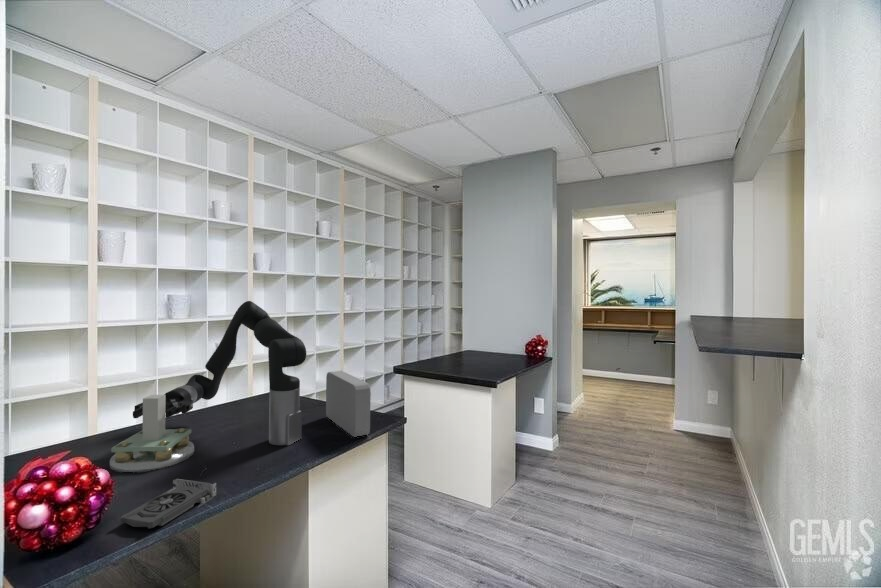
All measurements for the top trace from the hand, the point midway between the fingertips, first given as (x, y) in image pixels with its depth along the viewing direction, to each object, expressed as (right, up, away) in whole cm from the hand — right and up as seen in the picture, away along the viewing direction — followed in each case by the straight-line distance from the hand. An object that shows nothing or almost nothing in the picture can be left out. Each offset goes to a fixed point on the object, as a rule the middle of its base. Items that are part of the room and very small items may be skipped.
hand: (150, 414), depth 117 cm
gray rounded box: (+49, -14, +31) cm, 59 cm away
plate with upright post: (0, -8, +2) cm, 9 cm away
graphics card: (+21, -15, -25) cm, 36 cm away
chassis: (0, -13, +2) cm, 13 cm away
